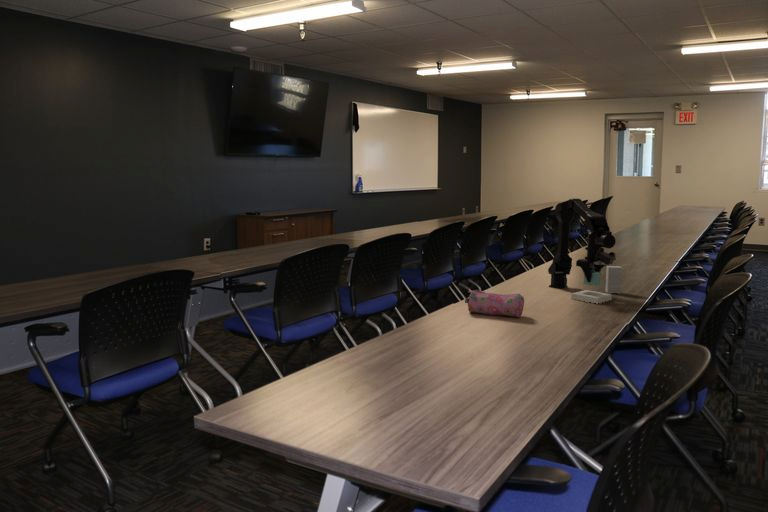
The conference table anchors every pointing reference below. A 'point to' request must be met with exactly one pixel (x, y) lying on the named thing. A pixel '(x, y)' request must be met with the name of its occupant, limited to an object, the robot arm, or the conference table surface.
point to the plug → (593, 279)
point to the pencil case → (495, 303)
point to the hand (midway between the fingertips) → (592, 281)
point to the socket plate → (591, 296)
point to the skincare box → (613, 279)
